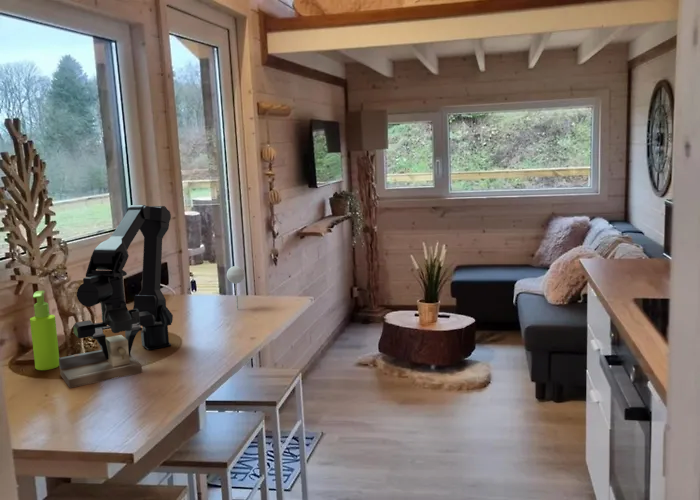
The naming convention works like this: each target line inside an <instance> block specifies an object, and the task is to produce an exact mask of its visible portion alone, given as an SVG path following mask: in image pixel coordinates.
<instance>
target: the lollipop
mask: <svg viewBox="0 0 700 500" xmlns="http://www.w3.org/2000/svg"><path fill="white" fill-rule="evenodd" d="M244 278H245V272H244V270H243V268H241V266H237V265H234V266H231V267H230V268H228V269H227V272H226V279H227V280H228V281H229V282H230V283H232V284H234V285H235V299H236V300H235V301H236V302H235V304H236V310H237V311H238V310H239V302H238V301H239V300H238V297H239V296H238V284H240V283H241V282H243V280H244Z"/></svg>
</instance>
